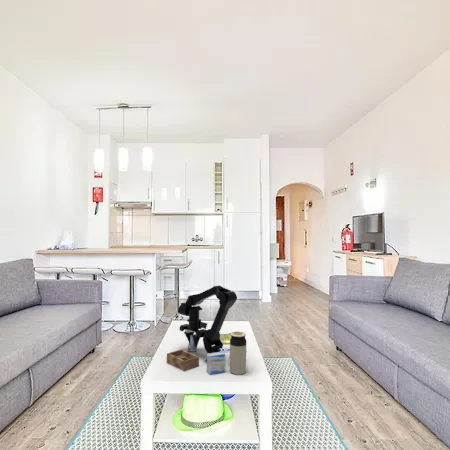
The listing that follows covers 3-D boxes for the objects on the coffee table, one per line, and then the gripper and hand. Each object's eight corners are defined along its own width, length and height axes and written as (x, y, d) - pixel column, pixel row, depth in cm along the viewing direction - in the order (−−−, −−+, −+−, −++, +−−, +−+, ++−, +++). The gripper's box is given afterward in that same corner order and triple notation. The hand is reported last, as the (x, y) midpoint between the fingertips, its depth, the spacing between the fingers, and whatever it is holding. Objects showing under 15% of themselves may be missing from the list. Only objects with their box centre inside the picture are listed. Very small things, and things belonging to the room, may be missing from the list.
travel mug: (231, 375, 146) (232, 336, 147) (227, 368, 154) (228, 331, 154) (248, 374, 148) (248, 335, 149) (243, 367, 155) (243, 330, 156)
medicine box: (209, 375, 146) (210, 356, 147) (206, 371, 150) (206, 353, 151) (225, 372, 149) (225, 354, 150) (221, 368, 153) (221, 350, 154)
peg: (198, 350, 173) (198, 335, 173) (192, 351, 170) (193, 336, 170) (193, 348, 175) (194, 333, 175) (188, 349, 172) (189, 335, 173)
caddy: (198, 366, 156) (199, 356, 156) (184, 371, 150) (184, 361, 150) (180, 357, 166) (181, 349, 167) (166, 362, 160) (166, 353, 160)
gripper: (216, 318, 172) (215, 347, 172) (194, 312, 186) (193, 339, 185) (200, 321, 165) (200, 352, 164) (179, 315, 178) (178, 343, 177)
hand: (193, 346), depth 173 cm, fingers closed on peg, 4 cm apart
